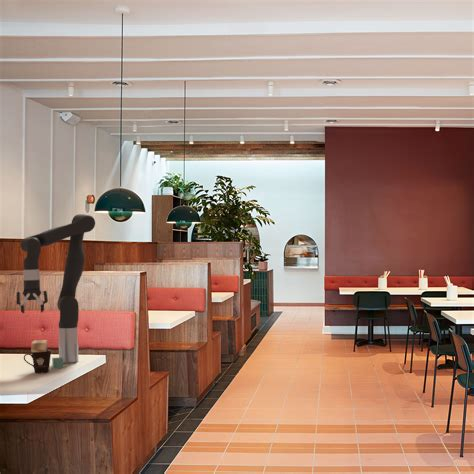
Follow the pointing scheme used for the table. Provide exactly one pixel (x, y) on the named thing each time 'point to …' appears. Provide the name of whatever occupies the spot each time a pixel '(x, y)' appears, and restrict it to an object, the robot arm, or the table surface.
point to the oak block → (39, 346)
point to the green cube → (57, 362)
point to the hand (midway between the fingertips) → (32, 312)
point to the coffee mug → (40, 361)
